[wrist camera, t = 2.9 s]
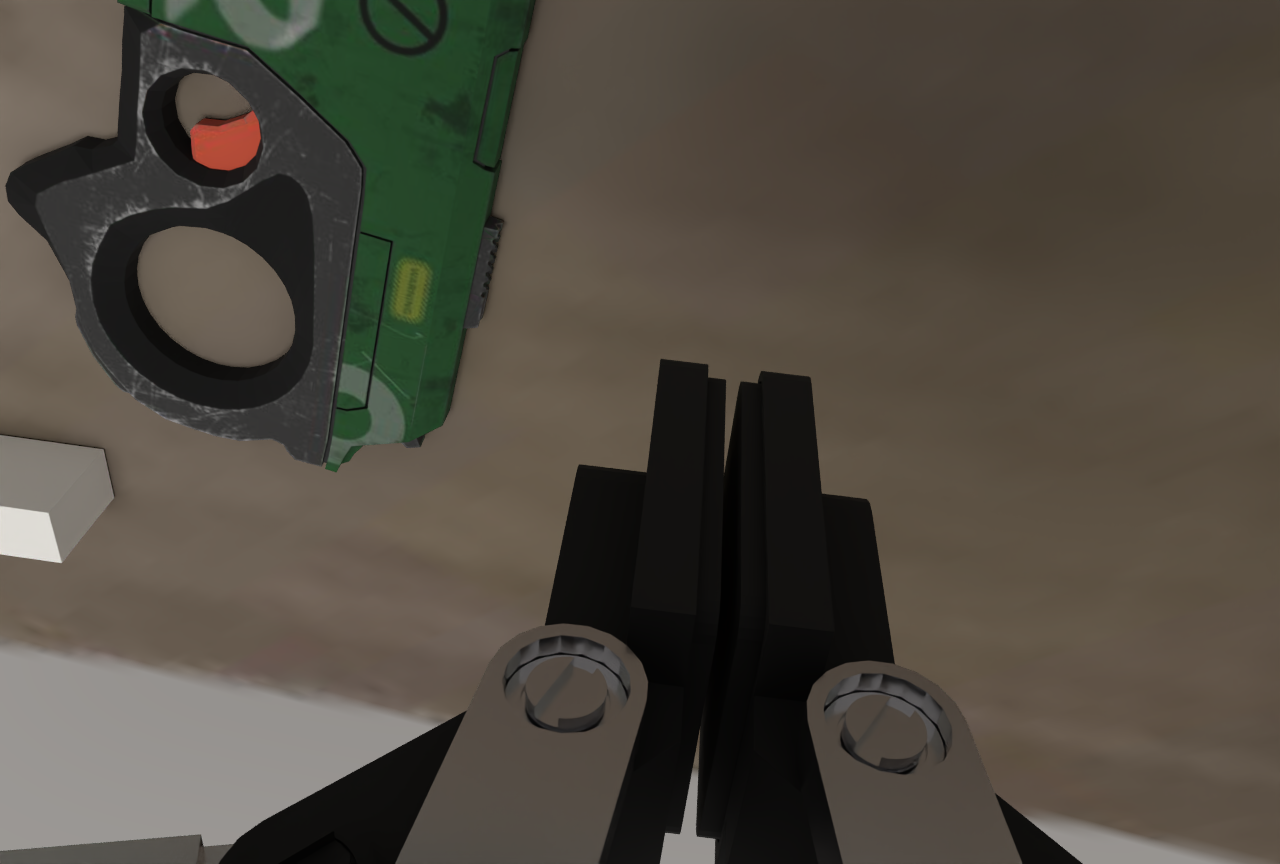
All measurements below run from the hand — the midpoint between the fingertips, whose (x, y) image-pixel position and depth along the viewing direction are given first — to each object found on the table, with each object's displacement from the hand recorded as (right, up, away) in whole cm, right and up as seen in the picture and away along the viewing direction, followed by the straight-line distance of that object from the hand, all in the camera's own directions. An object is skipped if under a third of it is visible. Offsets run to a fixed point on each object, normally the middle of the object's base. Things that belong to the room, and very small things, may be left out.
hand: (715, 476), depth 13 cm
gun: (-8, +8, +10) cm, 15 cm away
